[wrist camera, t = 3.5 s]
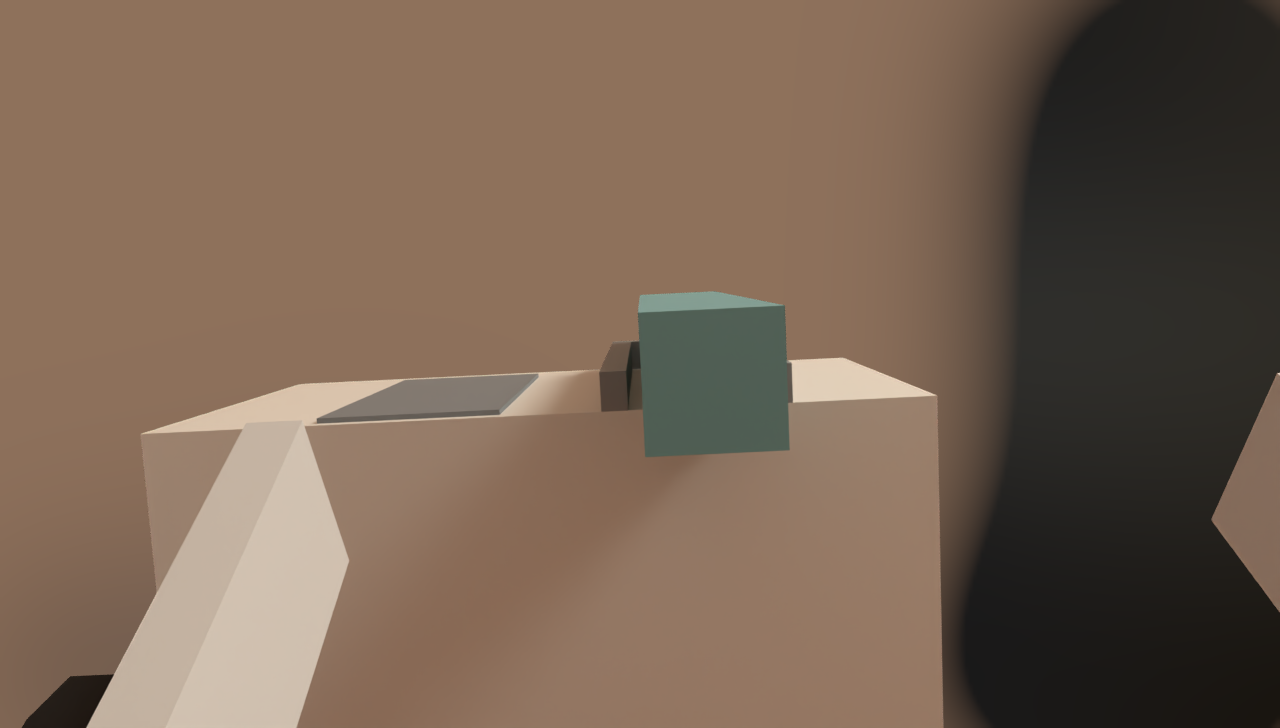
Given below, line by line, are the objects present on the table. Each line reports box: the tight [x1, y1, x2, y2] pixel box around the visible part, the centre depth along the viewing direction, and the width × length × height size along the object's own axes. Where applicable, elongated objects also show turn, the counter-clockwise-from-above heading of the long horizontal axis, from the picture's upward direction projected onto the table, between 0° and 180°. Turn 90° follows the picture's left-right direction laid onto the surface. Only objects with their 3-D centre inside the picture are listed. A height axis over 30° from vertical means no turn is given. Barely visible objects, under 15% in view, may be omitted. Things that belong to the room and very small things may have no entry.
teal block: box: [638, 292, 790, 457], centre depth 37 cm, size 24×4×4 cm, turn 0°
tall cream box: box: [141, 341, 943, 728], centre depth 44 cm, size 16×30×34 cm, turn 90°
